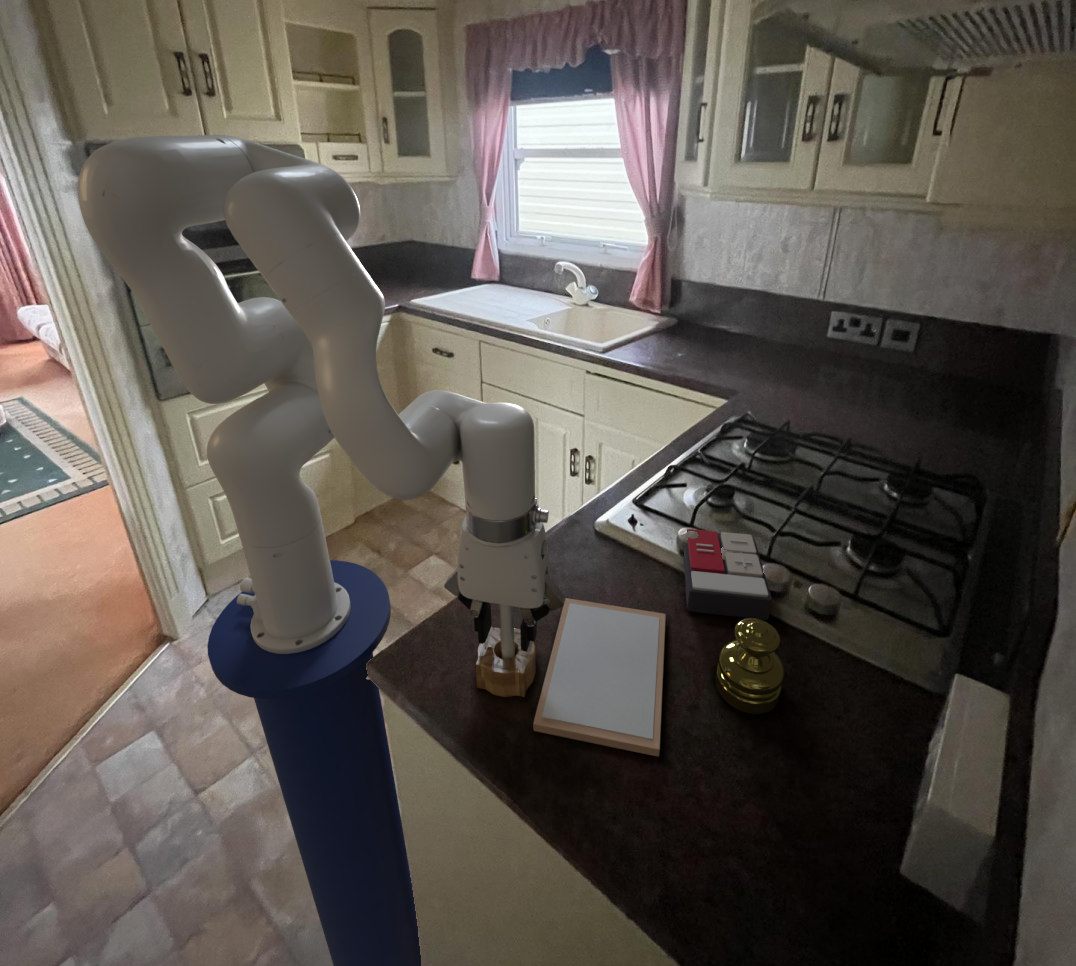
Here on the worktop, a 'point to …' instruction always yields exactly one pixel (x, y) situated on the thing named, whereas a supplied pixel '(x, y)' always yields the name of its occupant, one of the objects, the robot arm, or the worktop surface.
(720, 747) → the worktop surface
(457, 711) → the worktop surface
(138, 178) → the robot arm
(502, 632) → the stylus
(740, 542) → the calculator
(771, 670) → the brass weight
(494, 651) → the holder
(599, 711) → the small whiteboard
